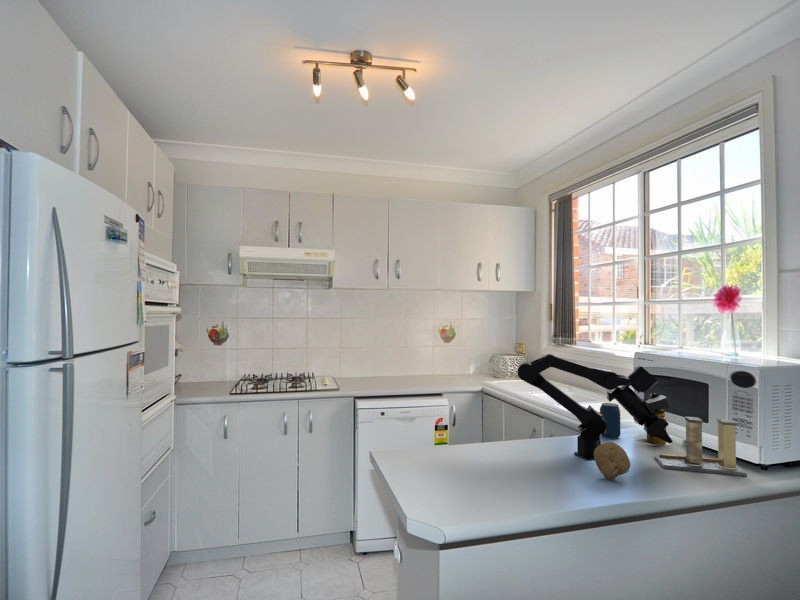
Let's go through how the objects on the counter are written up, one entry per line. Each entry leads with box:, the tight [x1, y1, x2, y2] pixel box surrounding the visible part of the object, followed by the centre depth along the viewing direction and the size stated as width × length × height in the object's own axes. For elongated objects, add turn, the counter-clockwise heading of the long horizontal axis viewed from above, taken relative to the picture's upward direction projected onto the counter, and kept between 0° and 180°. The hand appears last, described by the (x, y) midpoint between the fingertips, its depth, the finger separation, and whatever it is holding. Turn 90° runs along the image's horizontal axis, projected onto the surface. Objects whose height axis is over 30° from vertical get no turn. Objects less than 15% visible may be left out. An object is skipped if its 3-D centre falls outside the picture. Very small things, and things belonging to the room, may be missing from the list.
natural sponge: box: [593, 441, 631, 480], centre depth 123 cm, size 9×9×10 cm
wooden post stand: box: [653, 418, 748, 477], centre depth 134 cm, size 21×10×14 cm, turn 73°
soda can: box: [599, 402, 622, 440], centre depth 165 cm, size 7×7×12 cm
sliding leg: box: [684, 416, 704, 464], centre depth 134 cm, size 3×4×13 cm
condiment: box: [636, 409, 672, 446], centre depth 159 cm, size 7×8×12 cm
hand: (671, 442), depth 136 cm, fingers closed
